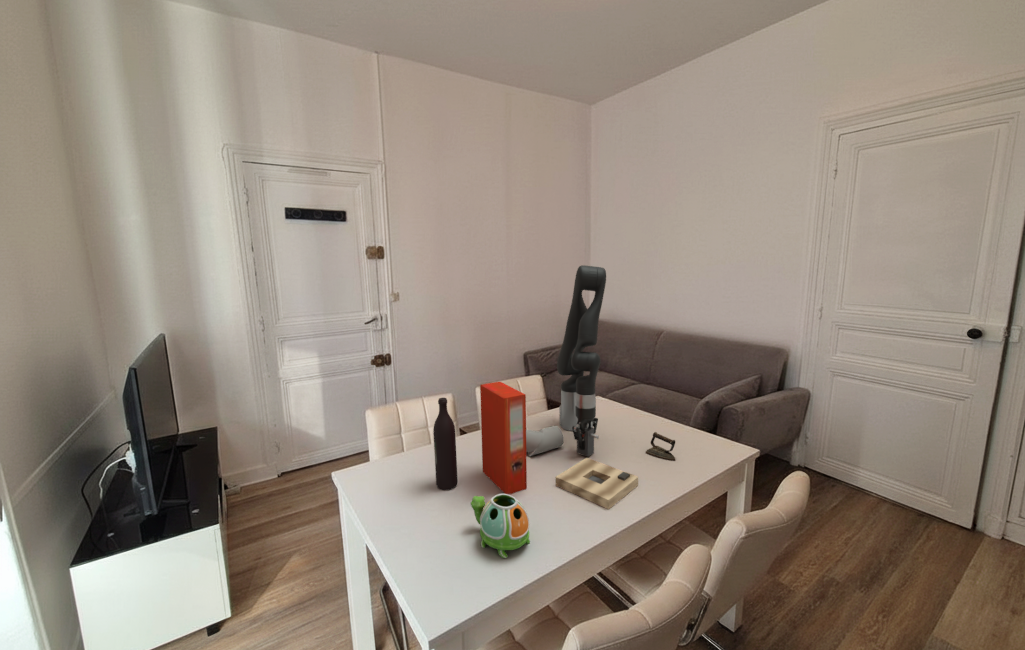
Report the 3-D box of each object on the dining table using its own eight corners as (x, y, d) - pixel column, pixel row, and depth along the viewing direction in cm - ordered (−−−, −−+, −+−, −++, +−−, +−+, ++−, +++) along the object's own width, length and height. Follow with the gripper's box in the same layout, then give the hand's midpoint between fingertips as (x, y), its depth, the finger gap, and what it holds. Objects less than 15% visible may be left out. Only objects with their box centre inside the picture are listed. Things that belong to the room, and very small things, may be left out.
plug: (576, 452, 157) (576, 427, 156) (582, 449, 160) (583, 424, 158) (594, 459, 151) (594, 433, 150) (600, 455, 154) (600, 430, 153)
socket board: (555, 485, 136) (555, 474, 135) (586, 465, 148) (586, 455, 148) (608, 509, 122) (608, 497, 121) (638, 485, 134) (638, 474, 134)
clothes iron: (654, 448, 161) (661, 427, 159) (678, 465, 153) (686, 442, 150) (643, 452, 157) (650, 430, 154) (667, 469, 149) (676, 446, 146)
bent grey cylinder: (524, 462, 149) (567, 448, 159) (520, 433, 150) (563, 421, 160) (500, 454, 164) (541, 442, 175) (497, 428, 165) (538, 417, 175)
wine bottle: (449, 477, 142) (445, 393, 138) (462, 484, 137) (457, 398, 133) (432, 485, 138) (427, 399, 133) (444, 493, 132) (439, 404, 128)
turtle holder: (490, 514, 121) (488, 476, 119) (539, 540, 109) (538, 498, 107) (458, 536, 111) (456, 495, 110) (508, 566, 100) (507, 521, 98)
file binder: (502, 466, 149) (500, 381, 144) (527, 488, 134) (525, 394, 129) (482, 472, 145) (479, 384, 140) (505, 495, 130) (503, 398, 126)
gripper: (588, 397, 161) (587, 438, 164) (565, 406, 151) (565, 450, 154) (604, 401, 156) (604, 444, 159) (582, 411, 146) (582, 457, 149)
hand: (585, 447), depth 156 cm, fingers closed on plug, 4 cm apart
